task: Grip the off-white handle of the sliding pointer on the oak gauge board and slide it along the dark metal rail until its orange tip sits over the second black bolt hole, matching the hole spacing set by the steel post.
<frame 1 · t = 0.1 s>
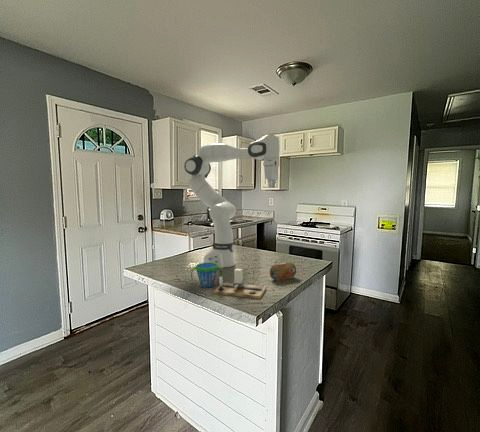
hand: (271, 187, 156), 48 cm above the countertop, tool pointing down, fingers open, 8 cm apart
snack cup: (207, 285, 132), on the countertop
tin: (282, 279, 140), on the countertop
gauge board: (240, 291, 124), on the countertop
sliding pointer: (237, 279, 123), point 6 cm above the countertop, slide at -1.0 cm
fixed leg: (220, 283, 123), point 4 cm above the countertop
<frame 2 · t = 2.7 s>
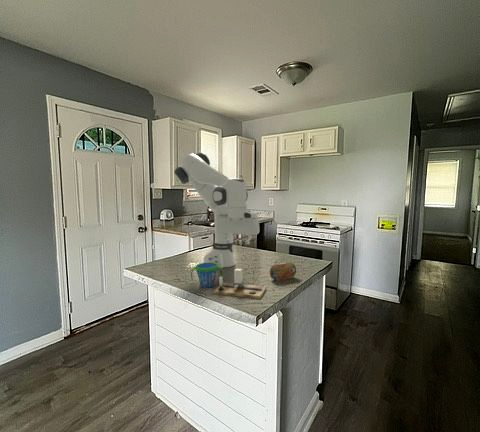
hand: (237, 243, 123), 22 cm above the countertop, tool pointing down, fingers open, 8 cm apart
nothing on the countertop moved.
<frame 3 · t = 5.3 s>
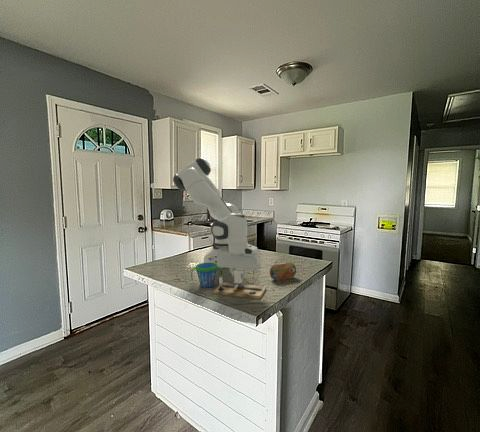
hand: (238, 277, 125), 6 cm above the countertop, tool pointing down, fingers closed on sliding pointer, 3 cm apart
sliding pointer: (237, 279, 123), point 6 cm above the countertop, slide at -1.0 cm, touching gripper
everything else where it was.
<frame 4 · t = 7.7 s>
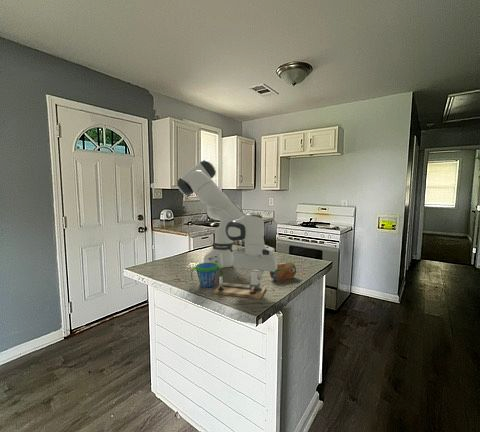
hand: (254, 279, 122), 6 cm above the countertop, tool pointing down, fingers closed on sliding pointer, 3 cm apart
sliding pointer: (254, 280, 121), point 6 cm above the countertop, slide at 6.9 cm, touching gripper
everything else where it was.
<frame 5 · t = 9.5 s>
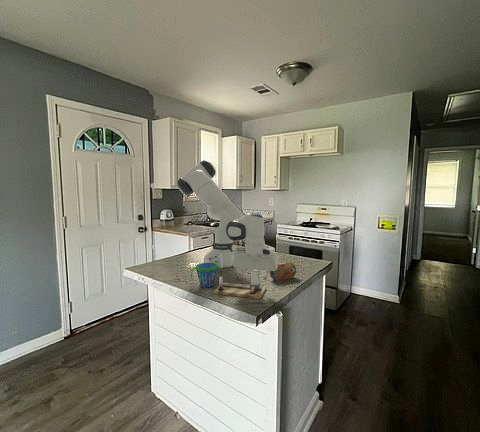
hand: (255, 278, 122), 6 cm above the countertop, tool pointing down, fingers open, 8 cm apart
sliding pointer: (254, 280, 121), point 6 cm above the countertop, slide at 6.9 cm
everything else where it was.
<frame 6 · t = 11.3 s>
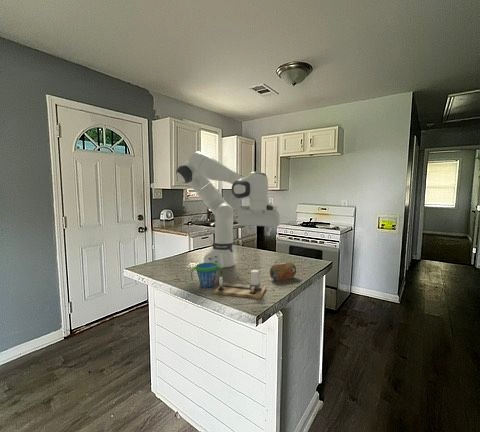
hand: (258, 235, 128), 25 cm above the countertop, tool pointing down, fingers open, 8 cm apart
nothing on the countertop moved.
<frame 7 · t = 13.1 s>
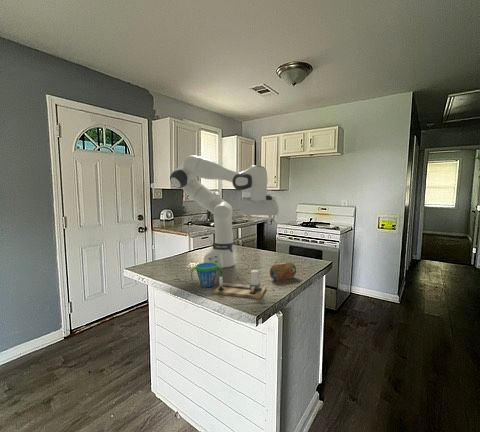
hand: (259, 223, 140), 29 cm above the countertop, tool pointing down, fingers open, 8 cm apart
nothing on the countertop moved.
at the end: sliding pointer slide at 6.9 cm; the gripper is holding nothing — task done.
